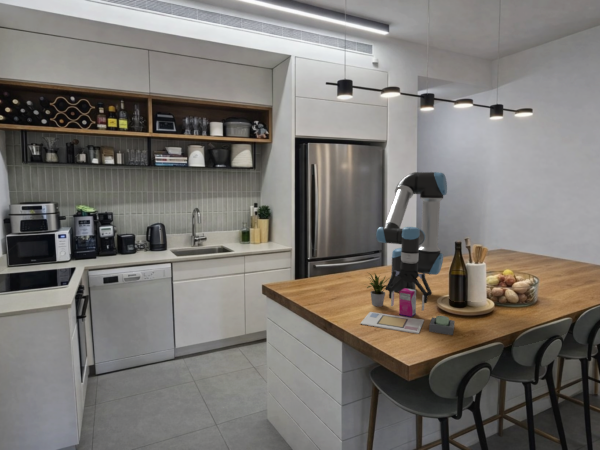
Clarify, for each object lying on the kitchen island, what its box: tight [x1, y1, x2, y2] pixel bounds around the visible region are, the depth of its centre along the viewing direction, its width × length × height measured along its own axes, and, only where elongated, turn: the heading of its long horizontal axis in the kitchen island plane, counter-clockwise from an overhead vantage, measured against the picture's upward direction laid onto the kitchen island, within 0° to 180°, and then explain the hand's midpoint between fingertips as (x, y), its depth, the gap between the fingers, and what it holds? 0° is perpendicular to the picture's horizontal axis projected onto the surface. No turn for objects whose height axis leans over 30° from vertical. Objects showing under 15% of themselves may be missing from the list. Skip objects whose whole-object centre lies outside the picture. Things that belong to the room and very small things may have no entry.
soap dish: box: [428, 317, 456, 336], centre depth 165 cm, size 9×9×3 cm
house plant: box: [364, 272, 392, 307], centre depth 195 cm, size 14×14×16 cm
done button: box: [435, 315, 450, 326], centre depth 164 cm, size 5×5×4 cm
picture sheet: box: [359, 311, 425, 335], centre depth 172 cm, size 16×24×1 cm, turn 66°
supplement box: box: [398, 288, 417, 318], centre depth 182 cm, size 6×6×12 cm
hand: (407, 307), depth 182 cm, fingers open, 13 cm apart
